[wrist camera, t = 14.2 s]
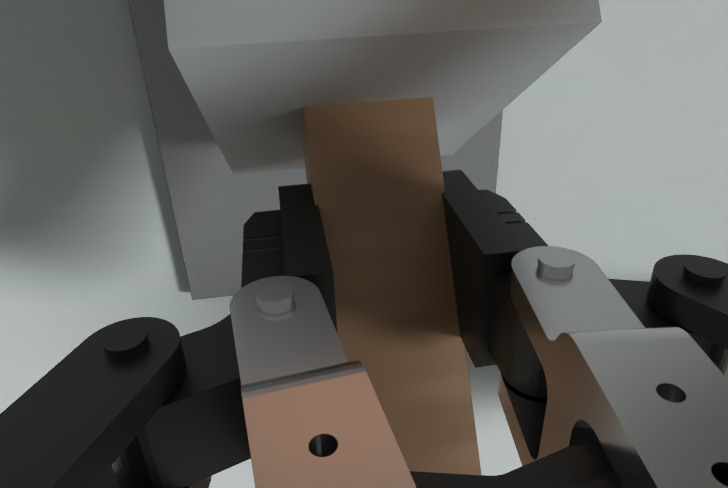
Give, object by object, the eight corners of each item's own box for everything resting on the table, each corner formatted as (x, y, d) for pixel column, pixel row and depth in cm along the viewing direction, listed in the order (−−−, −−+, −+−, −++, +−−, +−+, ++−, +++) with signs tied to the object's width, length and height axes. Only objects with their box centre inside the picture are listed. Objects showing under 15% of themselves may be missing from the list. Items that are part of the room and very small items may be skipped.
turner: (591, -46, 8) (688, 602, 8) (447, 119, 16) (489, 446, 16) (161, -25, 8) (230, 695, 7) (229, 137, 16) (264, 481, 15)
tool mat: (511, -63, 16) (517, -62, 15) (485, 259, 20) (489, 265, 20) (122, -46, 14) (118, -46, 14) (193, 293, 19) (192, 300, 19)
